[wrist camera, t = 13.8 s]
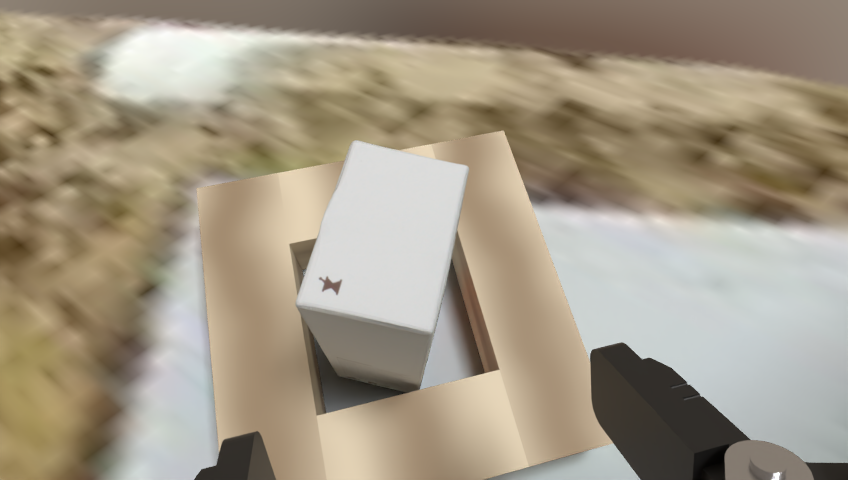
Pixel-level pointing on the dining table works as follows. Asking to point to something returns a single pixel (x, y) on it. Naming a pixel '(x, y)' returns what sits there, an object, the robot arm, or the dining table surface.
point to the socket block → (415, 411)
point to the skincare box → (383, 264)
